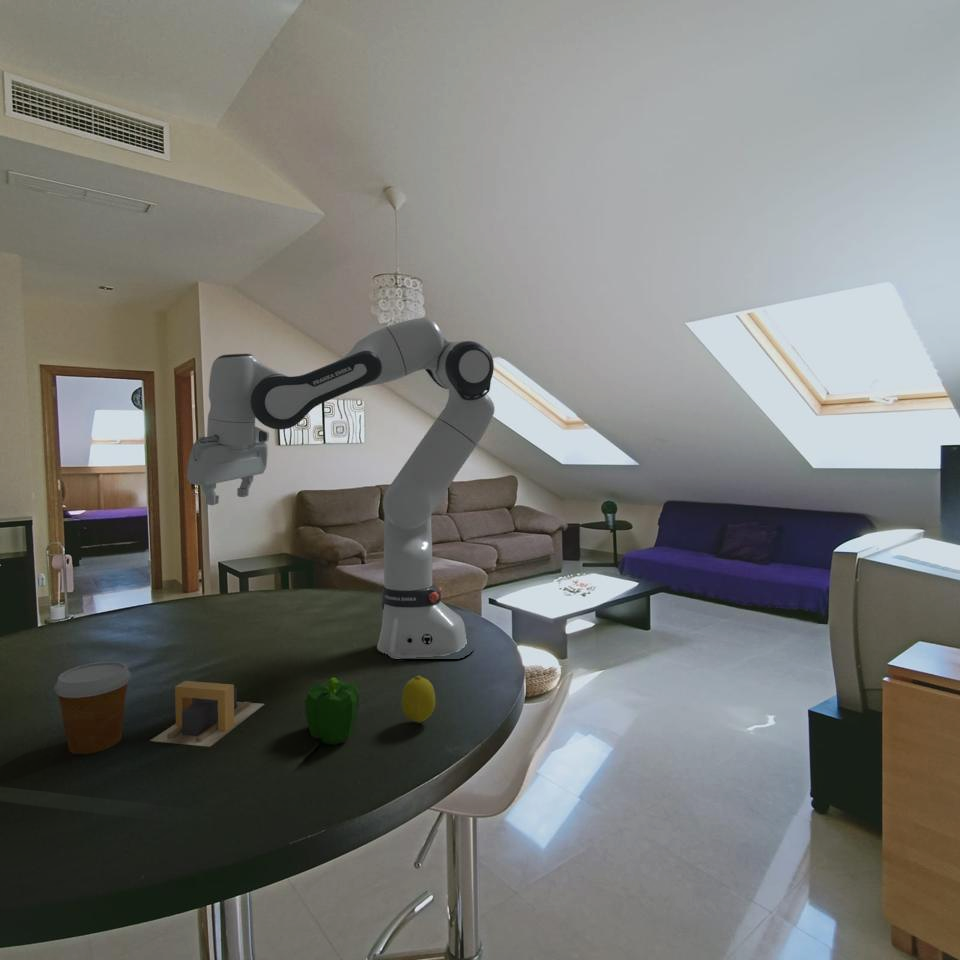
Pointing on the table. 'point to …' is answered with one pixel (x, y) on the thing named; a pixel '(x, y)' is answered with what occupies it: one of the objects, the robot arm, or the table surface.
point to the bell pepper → (332, 711)
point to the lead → (201, 716)
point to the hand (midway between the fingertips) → (228, 500)
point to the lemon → (418, 699)
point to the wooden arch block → (206, 691)
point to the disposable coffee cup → (93, 705)
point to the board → (211, 733)
